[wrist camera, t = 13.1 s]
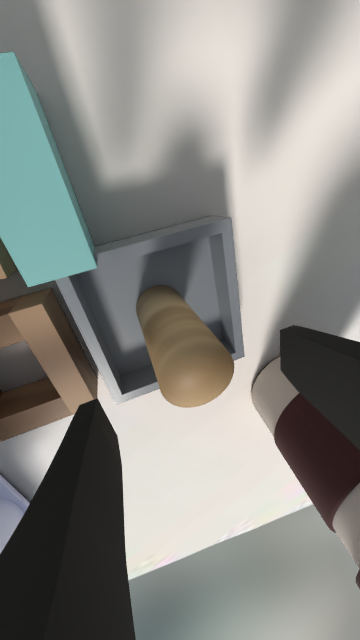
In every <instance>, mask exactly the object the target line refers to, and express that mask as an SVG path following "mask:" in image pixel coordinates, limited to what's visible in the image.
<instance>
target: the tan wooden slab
mask: <svg viewBox="0 0 360 640" xmlns="http://www.w3.org/2000/svg"><path fill="white" fill-rule="evenodd" d="M17 269H18V268H17V266H16V265H15V263H14V261H13V259H12V257H11V256H10V254H9V252H8V250H7V248H6V247H5V245H4V243H3V241H2V239H1V238H0V279H5V278H8V277H9V276H10V275H11V274H13V273H14V272H15V271H16V270H17Z"/></svg>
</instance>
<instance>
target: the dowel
mask: <svg viewBox="0 0 360 640" xmlns="http://www.w3.org/2000/svg"><path fill="white" fill-rule="evenodd" d="M136 313H137V317H138V320H139V323H140V327H141V330H142V333H143V336H144V339H145V343H146V346H147V349H148V352H149V355H150V358H151V362H152V365H153V368H154V371H155V374H156V378H157V381H158V384H159V387H160V390H161V393H162V395H163V396H164V398H165V399H166V400H167V401H168V402H170V403H171V404H173V405H176V406H179V407H186V408H187V407H196V406H200V405H203V404H206V403H208V402H210V401H212V400H213V399H215V398H216V397H218V396H219V395H220V394H221V393H222V392H223V391H224V390H225V389H226V388H227V386H228V385H229V383H230V381H231V379H232V376H233V373H234V361H233V358H232V356H231V354H230V353H229V351H228V350H227V349H226V348H225V347H224V346H223V344H222V343H221V342H220V341H219V340H218V339H217V337H216V336H215V335H214V334H213V333H212V332H211V330H210V329H209V328H208V327H207V326H206V325H205V323H204V322H203V321H202V320H201V319H200V318H199V316H198V315H197V314H196V313H195V312H194V311H193V310H192V308H191V307H190V306H189V305H188V304H187V303H186V301H185V300H184V299H183V298H182V297H181V296H180V294H179V293H178V292H177V291H176V290H175V289H173V288H172V287H169V286H166V285H156V286H153V287H150V288H148V289H147V290H145V291H144V292H143V293H142V294H141V295H140V297H139V299H138V301H137V304H136Z"/></svg>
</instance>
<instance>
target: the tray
mask: <svg viewBox="0 0 360 640" xmlns="http://www.w3.org/2000/svg"><path fill="white" fill-rule="evenodd" d="M93 256H94V258H95V261H96V263H97V268H96V269H92V270H88V271H85V272H81V273H78V274H74V275H71V276H67V277H64V278H60V279H56V280H55V281H56V283H57V285H58V287H59V289H60V292H61V294H62V296H63V298H64V300H65V302H66V304H67V306H68V308H69V310H70V312H71V314H72V316H73V318H74V320H75V322H76V324H77V326H78V328H79V330H80V333H81V335H82V337H83V339H84V341H85V343H86V345H87V347H88V349H89V351H90V353H91V355H92V357H93V359H94V361H95V363H96V365H97V367H98V369H99V371H100V374H101V376H102V378H103V380H104V382H105V384H106V386H107V388H108V390H109V392H110V394H111V396H112V398H113V400H114V402H115V404H116V405H118V404H120V403H123V402H126V401H128V400H131V399H133V398H136V397H139V396H141V395H144V394H147V393H149V392H152V391H155V390H157V389H160V387H159V384H158V381H157V378H156V374H155V371H154V368H153V365H152V362H151V358H150V355H149V352H148V349H147V346H146V343H145V339H144V336H143V333H142V330H141V327H140V323H139V320H138V317H137V313H136V304H137V301H138V299H139V297H140V295H141V294H142V293H143V292H144V291H145V290H147V289H148V288H150V287H153V286H156V285H166V286H169V287H172V288H173V289H175V290H176V291H177V292H178V293H179V294H180V296H181V297H182V298H183V299H184V300H185V301H186V303H187V304H188V305H189V306H190V307H191V308H192V310H193V311H194V312H195V313H196V314H197V315H198V316H199V318H200V319H201V320H202V321H203V322H204V323H205V325H206V326H207V327H208V328H209V329H210V330H211V332H212V333H213V334H214V335H215V336H216V337H217V339H218V340H219V341H220V342H221V343H222V344H223V346H224V347H225V348H226V349H227V350H228V351H229V353H230V354H231V356H232V358H233V361H234V360H237V359H239V358H242V357H244V346H243V336H242V325H241V315H240V305H239V294H238V284H237V273H236V263H235V252H234V242H233V231H232V221H231V218H230V217H221V216H208V217H204V218H200V219H197V220H193V221H189V222H185V223H182V224H178V225H174V226H170V227H167V228H163V229H159V230H155V231H152V232H148V233H144V234H140V235H136V236H133V237H129V238H125V239H121V240H118V241H114V242H110V243H106V244H103V245H99V246H95V247H94V254H93Z"/></svg>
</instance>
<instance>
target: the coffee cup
mask: <svg viewBox="0 0 360 640" xmlns="http://www.w3.org/2000/svg"><path fill="white" fill-rule="evenodd" d="M252 401H253V404H254V407H255V409H256V410H257V412H258V413H259V415H260V416H261V418H262V419H263V421H264V422H265V424H266V425H267V427H268V428H269V430H270V432H271V433H272V435H273V436H274V440H275V443H276V445H277V447H278V449H279V450H280V452H281V454H282V455H283V457H284V458H285V460H286V461H287V463H288V465H289V466H290V468H291V469H292V471H293V472H294V474H295V476H296V477H297V479H298V480H299V482H300V484H301V485H302V487H303V488H304V490H305V491H306V493H307V495H308V496H309V498H310V499H311V501H312V502H313V504H314V506H315V507H316V509H317V510H318V512H319V513H320V515H321V517H322V518H323V520H324V521H325V523H326V524H327V526H328V527H329V528H330V530H332V531H333V532H335V533H337V534H338V536H339V538H340V539H341V541H342V542H343V543H344V545H345V547H346V548H347V550H348V551H349V553H350V554H351V556H352V558H353V559H354V561H355V562H356V564H357V565H358V567H359V568H360V451H359V450H358V449H357V447H356V446H355V445H354V444H353V443H352V442H351V441H350V440H349V439H348V438H347V437H346V436H344V435H343V434H342V433H341V432H340V431H339V430H338V429H337V428H336V427H335V426H334V425H333V424H332V423H331V422H330V421H329V420H327V419H326V418H325V417H324V416H323V415H322V414H321V413H320V412H319V411H318V410H317V409H316V408H315V407H314V406H313V405H312V404H311V403H310V402H308V401H307V400H306V399H305V398H304V397H303V396H302V395H301V394H300V393H299V392H298V391H297V390H296V389H295V387H294V386H293V385H292V384H291V383H290V382H289V380H288V379H287V378H286V376H285V375H284V374H283V373H282V371H281V370H280V357H278V358H276V359H274V360H273V361H272V362H270V363H269V364H268V365H267V366H266V367H265V368H264V369H263V370H262V371H261V373H260V374H259V375H258V377H257V379H256V381H255V383H254V385H253V389H252ZM356 583H357V585H358V587H359V589H360V570H359V572H358V574H357V576H356Z"/></svg>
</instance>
